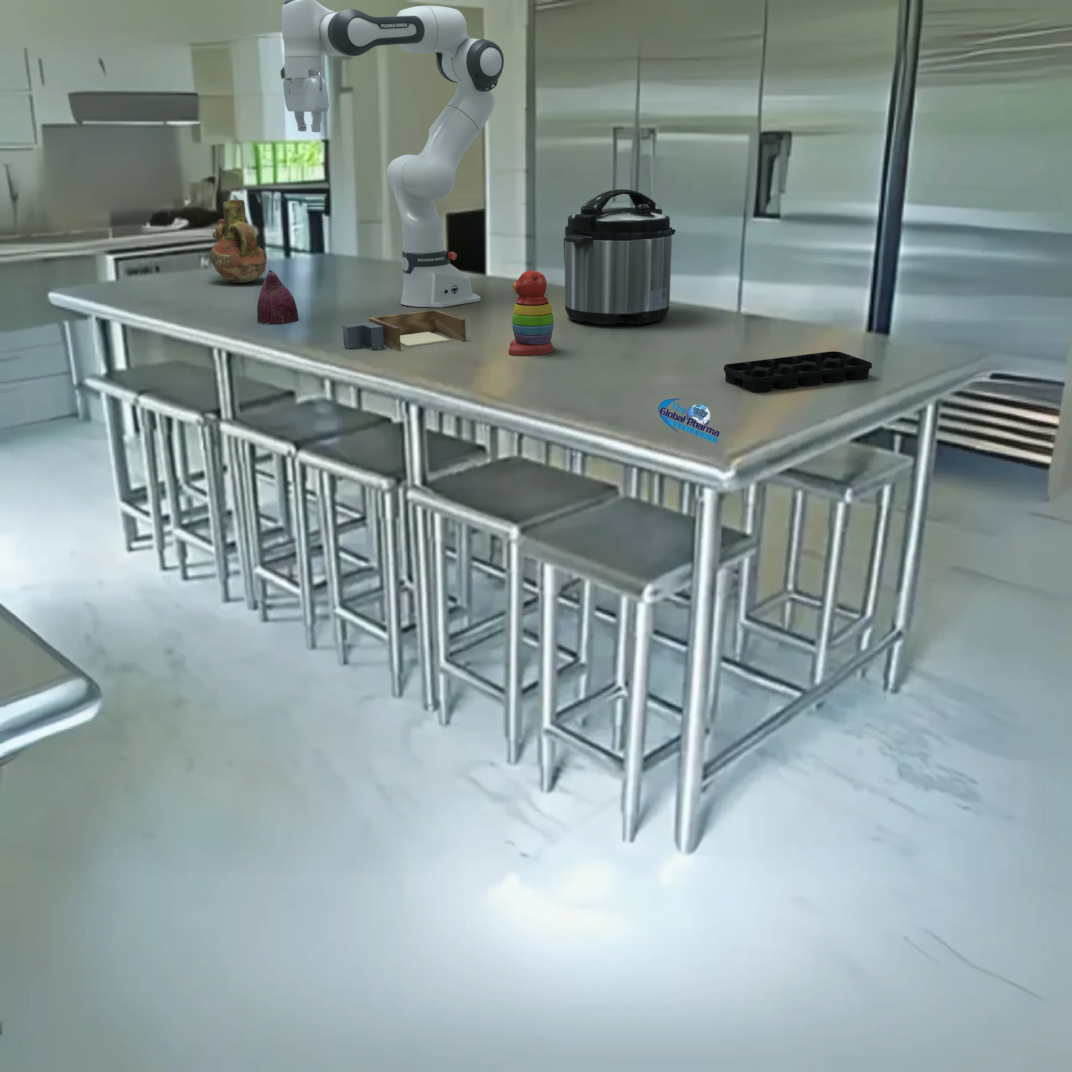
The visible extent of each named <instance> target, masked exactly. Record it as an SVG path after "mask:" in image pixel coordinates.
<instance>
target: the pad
mask: <svg viewBox="0 0 1072 1072" xmlns="http://www.w3.org/2000/svg"><path fill="white" fill-rule="evenodd" d="M446 342H451V339H449V338H446V337H444V336H441V335H438V334H435V333H433V332H423V333H415V334H408V335H400V343H401V346H403V347H406V346H407V348H411V346H412V347H418V346H425V345H432V344H440V343H446Z"/></svg>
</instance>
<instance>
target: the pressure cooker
mask: <svg viewBox="0 0 1072 1072" xmlns="http://www.w3.org/2000/svg"><path fill="white" fill-rule="evenodd" d="M621 195H628V196H629V198H630V199H631V202H632V204H633V206H634V207H626V206H625V207H618V206H617V207H608V208H605V207H606V205H607V204H608V203H609V201H610V200H611V198H614V197H617V196H621ZM656 206H657V203H656V202H655V201H654V200H653V199H651V198H650V197H649V196H647V195H646V194H644V193H642V192H638V191H636V190H632V189H623V188H622V189H613V190H608V191H605V192H602V193H600V194H597V195H596V196H594V197H592V198H591V199H590V200H589V201H587V202H586V203H584V204H583V205H582V206H581V207H580V212H579V213H575V214H570V215H569V216H568V217H567V225H566V226H565V227H564V238H563V261H564V309H565V311H566V314H567V316H568V318H570V319H571V320H575V321H578V322H584V321H585V322H588V323H592V324H594V323H595V324H598V325H617V324H618V323H619V324H620V323H621V324H622V323H623V324H629V325H630V324H631V325H633V324H634V325H635V324H636V325H637V324H638V325H639V324H641V325H642V324H643V325H644V324H649V323H654V322H655V323H656V322H658V321H661V320H663V319H665V318H666V316H667V314H668V313H669V310H670V306H671V302H670V301H671V295H670V294H671V274H672V250H673V249H672V248H673V247H672V246H673V236H674V235H675V233H676V229H674V228H673V227H672V226H671V221H670V219H671V217H670V216H669V215H665V214H663V210H662V208H656Z"/></svg>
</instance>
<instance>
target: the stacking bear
mask: <svg viewBox="0 0 1072 1072" xmlns="http://www.w3.org/2000/svg"><path fill="white" fill-rule="evenodd" d="M547 285H548V284H547V278H546V276H545V275H544V274H543V273H542V272H540V271H537V270H534V269H530V270H527V271H524V272H522V273H521V275H520V276H519V278H518V279H517V280H516V281H515V282H514V283H513V285H512V288H513V289H514V290H513V291H514V293H516V294H517V295H518V297H517V298H516V299H515V303H514V307H513V313H512V318H511V326H512V332H513V336H514V339H512V341H511V342H510V343H509V348H508V355H510V356H515V357H517V356H518V357H519V356H520V357H522V356H523V357H524V356H539V355H544V354H549V353H551V352H553V350H554V347H553V343H552V341H551V340H552V336H553V331H554V325H555V323H554V322H555V321H554V313H553V309H552V303H550V302H549V299H548V298H547V297H546V296H545V293H546V292H547V291H546V290H547Z"/></svg>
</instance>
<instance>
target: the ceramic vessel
mask: <svg viewBox="0 0 1072 1072" xmlns="http://www.w3.org/2000/svg"><path fill="white" fill-rule="evenodd" d="M222 209H223V218H219V219H218V220H217V225H216V226H215V231H214V232H213V233H212V237H213V238H214V239H215V240H216V243H214V244H213V246H212V247H211V249H210V253H209V259H210V261H211V263H212V265H213V268H214V269H215V271H216V272H217V273H218V274H219V275H220V276H221V277H223V278H224V279H226V280H227V281H229V282H231V283H232V284H245V283H250V282H252V281H255V280H256V279H259V278H260V277H261V276H262V275H263V274H264V273H265V271H266V268H267V267H266V265H267V258H268V257H267V253H266V252H265V250H264V249H263V248H261V247H260V246H259V242H258V237H257V235H256V232H255V230H254V228H253V226H251V225H250V224H249V223H246V205H245V200H243V199H231V200H229V201H227V200H226V201H224V202H223V204H222Z"/></svg>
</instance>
